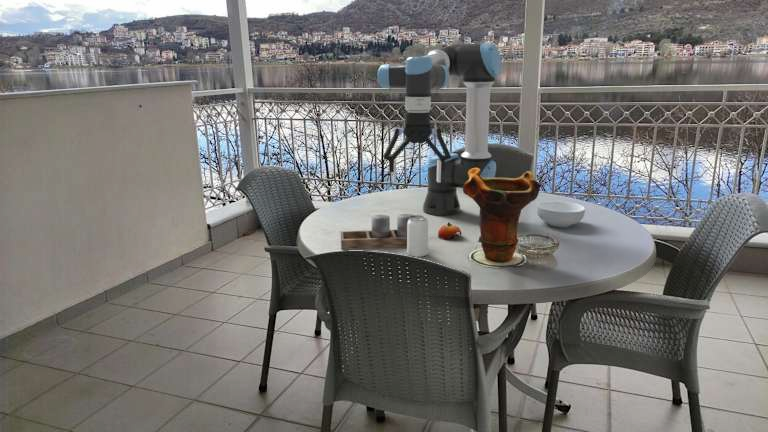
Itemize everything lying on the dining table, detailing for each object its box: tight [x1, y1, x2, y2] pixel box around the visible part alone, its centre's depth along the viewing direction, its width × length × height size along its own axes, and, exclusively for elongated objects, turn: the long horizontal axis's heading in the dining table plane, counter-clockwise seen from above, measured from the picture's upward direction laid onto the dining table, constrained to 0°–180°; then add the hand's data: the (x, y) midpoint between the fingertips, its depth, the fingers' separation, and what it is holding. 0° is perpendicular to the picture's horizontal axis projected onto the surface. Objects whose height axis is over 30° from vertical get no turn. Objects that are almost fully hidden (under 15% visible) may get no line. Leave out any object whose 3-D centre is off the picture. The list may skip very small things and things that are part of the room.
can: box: [406, 214, 429, 258], centre depth 166 cm, size 6×6×12 cm
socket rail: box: [340, 213, 414, 250], centre depth 176 cm, size 27×9×9 cm, turn 96°
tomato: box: [437, 221, 462, 241], centre depth 183 cm, size 8×7×7 cm
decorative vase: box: [462, 168, 542, 269], centre depth 160 cm, size 21×23×28 cm
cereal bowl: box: [536, 200, 586, 228], centre depth 197 cm, size 17×17×7 cm
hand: (416, 182), depth 161 cm, fingers open, 13 cm apart
